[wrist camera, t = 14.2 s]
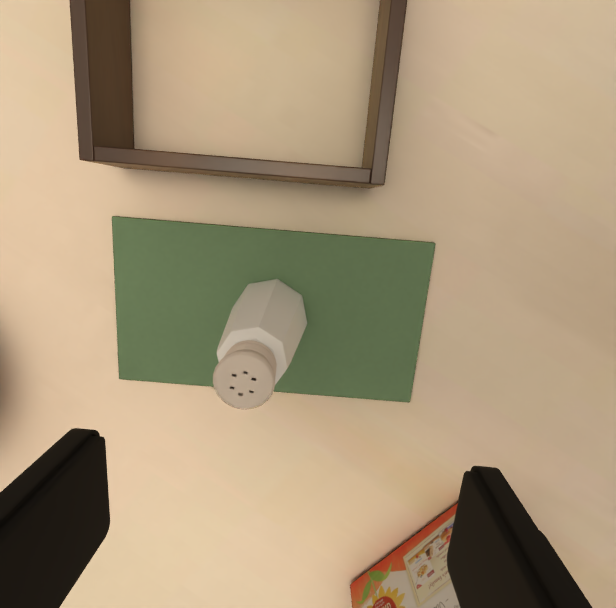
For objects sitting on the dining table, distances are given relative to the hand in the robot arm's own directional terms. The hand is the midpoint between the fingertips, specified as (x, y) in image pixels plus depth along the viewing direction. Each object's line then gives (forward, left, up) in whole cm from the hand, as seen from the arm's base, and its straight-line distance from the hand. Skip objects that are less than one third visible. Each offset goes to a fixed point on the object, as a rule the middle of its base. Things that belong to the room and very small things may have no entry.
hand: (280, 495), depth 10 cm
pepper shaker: (+2, +1, -19) cm, 19 cm away
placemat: (+2, +1, -19) cm, 19 cm away
